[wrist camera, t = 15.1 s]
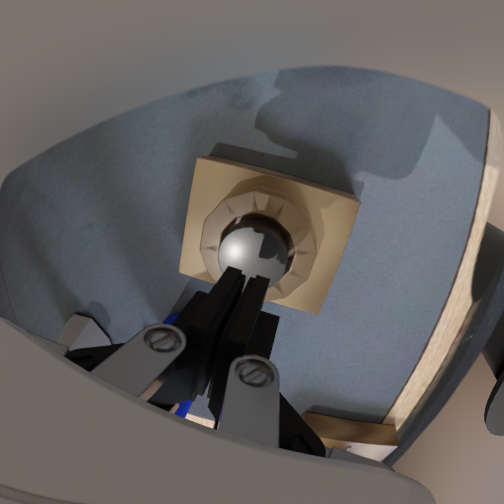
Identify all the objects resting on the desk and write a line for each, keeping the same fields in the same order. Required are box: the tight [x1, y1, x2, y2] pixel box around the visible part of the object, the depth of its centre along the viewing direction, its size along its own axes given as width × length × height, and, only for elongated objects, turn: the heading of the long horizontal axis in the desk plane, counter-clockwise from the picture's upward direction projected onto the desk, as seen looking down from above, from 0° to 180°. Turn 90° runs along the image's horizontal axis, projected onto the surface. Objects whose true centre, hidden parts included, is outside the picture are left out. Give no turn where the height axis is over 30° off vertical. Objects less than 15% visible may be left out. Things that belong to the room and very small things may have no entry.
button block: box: [179, 155, 361, 315], centre depth 18 cm, size 10×8×4 cm
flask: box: [57, 314, 111, 351], centre depth 24 cm, size 7×7×10 cm
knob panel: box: [301, 412, 398, 462], centre depth 26 cm, size 11×10×3 cm
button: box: [218, 218, 289, 289], centre depth 16 cm, size 4×4×2 cm
